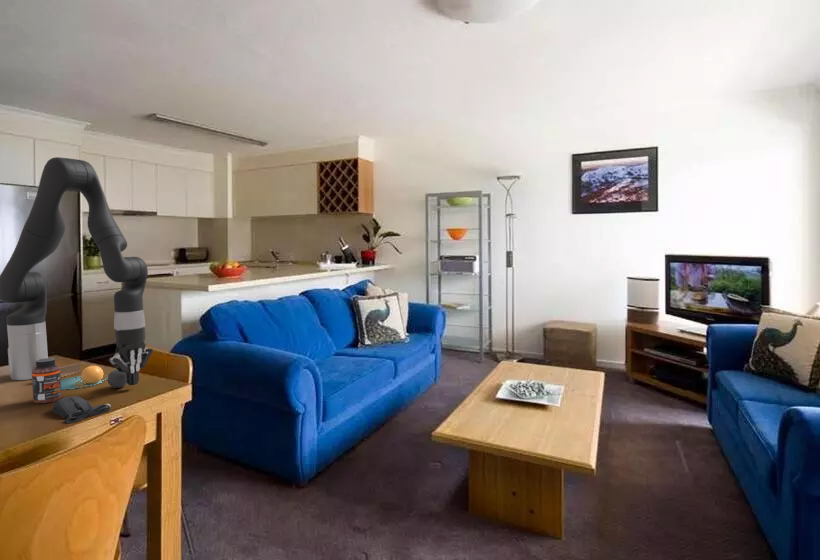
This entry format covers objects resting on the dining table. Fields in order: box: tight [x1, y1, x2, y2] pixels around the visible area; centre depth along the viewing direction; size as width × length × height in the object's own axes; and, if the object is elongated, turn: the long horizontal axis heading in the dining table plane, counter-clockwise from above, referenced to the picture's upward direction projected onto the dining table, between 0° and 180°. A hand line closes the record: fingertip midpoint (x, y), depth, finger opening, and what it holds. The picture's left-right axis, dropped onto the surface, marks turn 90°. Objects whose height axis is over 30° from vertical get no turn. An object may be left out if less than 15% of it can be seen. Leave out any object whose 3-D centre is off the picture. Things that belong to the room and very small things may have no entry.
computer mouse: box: [51, 395, 112, 425], centre depth 112 cm, size 10×15×4 cm
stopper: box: [59, 362, 81, 379], centre depth 140 cm, size 2×12×3 cm, turn 162°
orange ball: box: [80, 365, 105, 384], centre depth 134 cm, size 6×6×6 cm
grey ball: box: [106, 368, 127, 389], centre depth 131 cm, size 6×6×6 cm
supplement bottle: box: [31, 357, 62, 404], centre depth 120 cm, size 6×6×11 cm
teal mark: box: [61, 375, 106, 391], centre depth 136 cm, size 14×14×1 cm
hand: (132, 384), depth 129 cm, fingers closed
